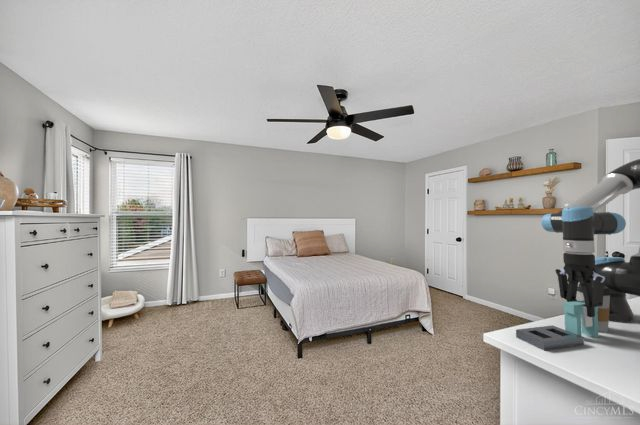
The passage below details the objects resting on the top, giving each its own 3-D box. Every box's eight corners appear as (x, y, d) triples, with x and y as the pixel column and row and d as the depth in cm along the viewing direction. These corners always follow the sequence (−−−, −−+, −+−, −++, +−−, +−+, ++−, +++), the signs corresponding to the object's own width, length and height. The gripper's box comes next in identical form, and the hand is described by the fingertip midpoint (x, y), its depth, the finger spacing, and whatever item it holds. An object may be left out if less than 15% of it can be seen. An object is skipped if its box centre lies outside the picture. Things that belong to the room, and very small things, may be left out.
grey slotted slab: (553, 332, 89) (552, 325, 90) (584, 345, 81) (583, 337, 81) (516, 337, 87) (516, 329, 87) (544, 350, 78) (543, 342, 78)
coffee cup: (620, 334, 87) (618, 289, 88) (590, 332, 89) (588, 288, 89) (598, 324, 96) (597, 283, 96) (572, 323, 97) (570, 282, 98)
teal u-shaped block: (587, 332, 90) (585, 299, 90) (600, 336, 86) (598, 303, 86) (563, 335, 88) (562, 302, 88) (576, 340, 84) (574, 305, 84)
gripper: (544, 250, 95) (546, 316, 94) (599, 256, 79) (602, 335, 78) (561, 249, 96) (563, 314, 95) (618, 255, 80) (621, 333, 80)
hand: (581, 323), depth 87 cm, fingers closed on teal u-shaped block, 3 cm apart
